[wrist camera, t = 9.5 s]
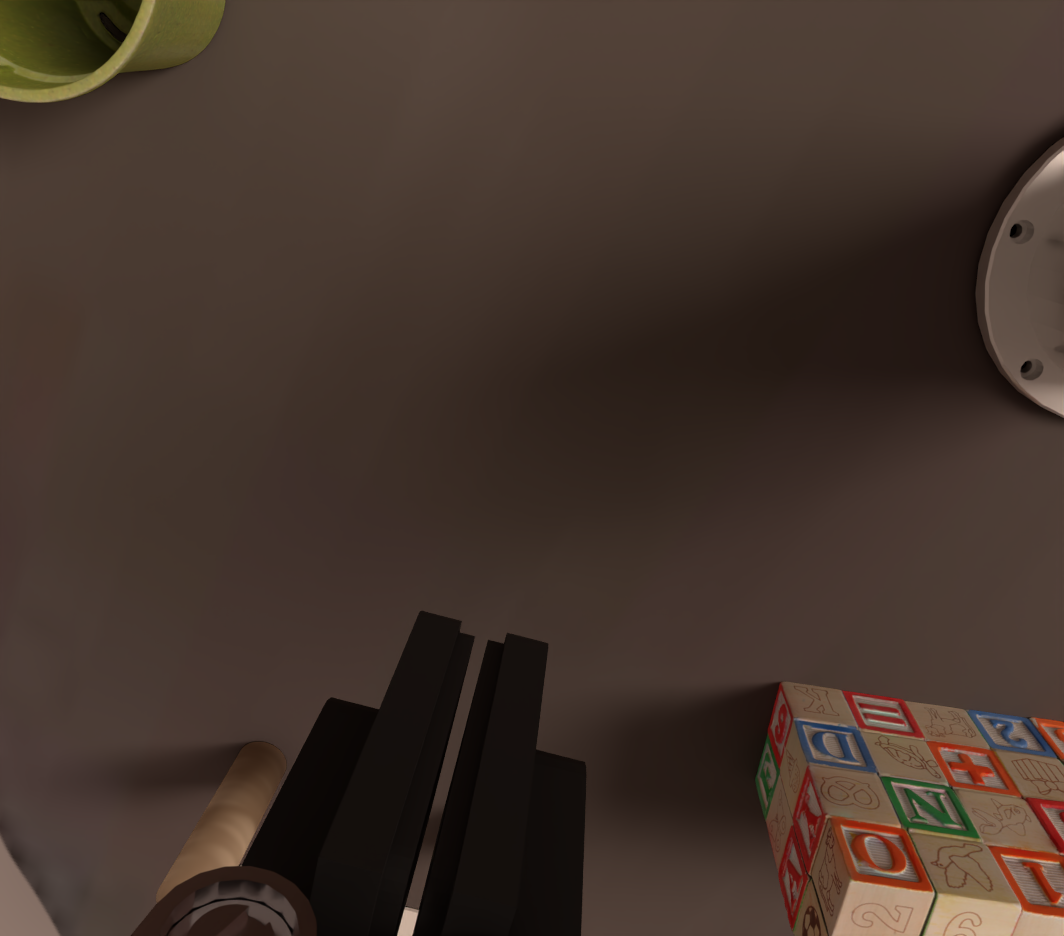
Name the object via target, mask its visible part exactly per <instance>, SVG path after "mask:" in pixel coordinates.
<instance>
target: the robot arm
mask: <svg viewBox="0 0 1064 936" xmlns="http://www.w3.org/2000/svg"><path fill="white" fill-rule="evenodd" d="M1014 224H1015V225H1016V227H1017V231H1016V233H1015V234H1014V235H1013V236H1011V237H1010V230H1011V228H1012V227H1013V225H1014ZM975 295H976V306H977V317H978V324H979V328H980V331H981V334H982V337H983V340H984V343H985V347H986V350H987V351H988V353H989V355H990V356H991V358H992V360H993V362H994V363H995V365H996V367H997V368H998V370H999V372H1000V373H1001V374H1002V375H1003V376H1004V377H1005V378H1006V379H1007V380H1008V382H1009V383H1010V384H1011V385H1012V386H1013V387H1014V388H1015V389H1016V390H1017V391H1018V392H1019V393H1021V394H1022V395H1024V396H1025V397H1027V398H1028V399H1030V400H1031V401H1033V402H1034V403H1036V404H1037V405H1039V406H1040V407H1042V408H1044V409H1046V410H1048V411H1051V412H1053V413H1055V414H1057V415H1059V416H1061V417H1062V418H1064V137H1063V138H1062V139H1060V140H1059V141H1057V142H1056V143H1055V144H1053V145H1052V146H1051V147H1050V148H1049V149H1048V150H1047V151H1046V152H1045V153H1044V154H1043V155H1042V156H1041V157H1040V158H1039V159H1038V160H1037V161H1036V162H1035V163H1034V164H1033V165H1032V166H1031V167H1030V168H1029V169H1028V170H1027V171H1026V172H1025V173H1024V174H1023V175H1022V177H1021V178H1020V179H1019V181H1018V182H1017V184H1016V185H1015V186H1014V188H1013V189H1012V190H1011V192H1010V193H1009V195H1008V196H1007V197H1006V199H1005V200H1004V202H1003V203H1002V205H1001V207H1000V209H999V211H998V213H997V215H996V217H995V219H994V221H993V223H992V225H991V227H990V229H989V231H988V234H987V237H986V241H985V244H984V247H983V251H982V254H981V257H980V261H979V265H978V274H977V283H976V293H975ZM1026 361H1027V364H1026V366H1025V368H1024V369H1022V370H1021V366H1022V365H1023V364H1024V363H1025V362H1026ZM461 622H462V621H459V620H455V619H451V618H447V617H444V616H440V615H436V614H432V613H428V612H424V611H420V613H419V615H418V617H417V619H416V622H415V624H414V627H413V629H412V631H411V634H410V636H409V639H408V641H407V644H406V646H405V648H404V651H403V653H402V656H401V658H400V661H399V663H398V665H397V668H396V670H395V673H394V675H393V678H392V680H391V682H390V685H389V687H388V690H387V692H386V695H385V697H384V699H383V702H382V704H381V707H380V709H375V708H371V707H367V706H363V705H359V704H355V703H351V702H348V701H344V700H340V699H336V698H332V697H331V698H330V699H328V700H327V702H326V704H325V705H324V707H323V709H322V711H321V713H320V714H319V716H318V718H317V720H316V722H315V724H314V726H313V728H312V730H311V732H310V734H309V736H308V738H307V740H306V742H305V744H304V745H303V747H302V749H301V751H300V753H299V755H298V757H297V759H296V761H295V763H294V765H293V767H292V769H291V771H290V773H289V775H288V776H287V778H286V780H285V782H284V784H283V786H282V788H281V790H280V792H279V794H278V796H277V798H276V800H275V802H274V804H273V806H272V807H271V809H270V811H269V813H268V815H267V817H266V819H265V821H264V823H263V825H262V827H261V829H260V831H259V833H258V835H257V837H256V838H255V840H254V842H253V844H252V846H251V848H250V850H249V852H248V854H247V856H246V858H245V860H244V862H243V864H242V866H225V867H221V868H217V869H214V870H210V871H206V872H202V873H199V874H197V875H195V876H193V877H192V878H190V879H188V880H186V881H184V882H182V883H181V884H179V885H177V886H175V887H174V888H173V889H172V890H171V891H170V892H169V893H168V894H167V895H166V896H165V897H163V898H162V899H161V900H160V901H159V902H158V903H157V904H156V905H155V906H154V907H153V909H152V910H151V911H150V912H149V914H148V915H147V916H146V917H145V918H144V920H143V921H142V922H141V923H140V925H139V926H138V927H137V928H136V930H135V931H134V932H133V933H132V934H131V936H397V935H398V931H399V927H400V924H401V920H402V916H403V912H404V909H405V905H406V901H407V898H408V894H409V890H410V886H411V883H412V879H413V875H414V872H415V868H416V864H417V861H418V857H419V853H420V849H421V846H422V842H423V838H424V835H425V831H426V827H427V823H428V820H429V816H430V812H431V808H432V804H433V800H434V796H435V793H436V789H437V785H438V781H439V777H440V773H441V769H442V765H443V761H444V757H445V753H446V749H447V745H448V741H449V737H450V733H451V729H452V725H453V721H454V717H455V714H456V710H457V706H458V702H459V698H460V694H461V690H462V686H463V682H464V678H465V674H466V670H467V666H468V662H469V658H470V654H471V650H472V646H473V642H474V638H475V636H471V635H468V634H464V633H460V627H461ZM547 653H548V643H545V642H541V641H537V640H533V639H529V638H525V637H522V636H518V635H514V634H510V633H507V635H506V638H505V642H504V644H503V643H499V642H495V641H491V640H488V642H487V646H486V650H485V654H484V658H483V662H482V665H481V669H480V673H479V677H478V681H477V685H476V688H475V692H474V696H473V700H472V704H471V708H470V711H469V715H468V719H467V723H466V727H465V731H464V735H463V738H462V742H461V746H460V750H459V754H458V758H457V761H456V765H455V769H454V773H453V777H452V781H451V784H450V788H449V792H448V796H447V800H446V804H445V808H444V811H443V815H442V819H441V823H440V827H439V831H438V835H437V839H436V843H435V847H434V851H433V855H432V859H431V863H430V867H429V871H428V875H427V879H426V883H425V887H424V891H423V895H422V899H421V903H420V907H419V911H418V915H417V919H416V923H415V927H414V931H413V935H412V936H581V919H582V889H583V859H584V830H585V800H586V765H585V762H582V761H578V760H574V759H571V758H567V757H563V756H559V755H555V754H551V753H547V752H543V751H539V750H536V744H537V736H538V727H539V719H540V711H541V702H542V694H543V686H544V678H545V669H546V661H547Z"/></svg>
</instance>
